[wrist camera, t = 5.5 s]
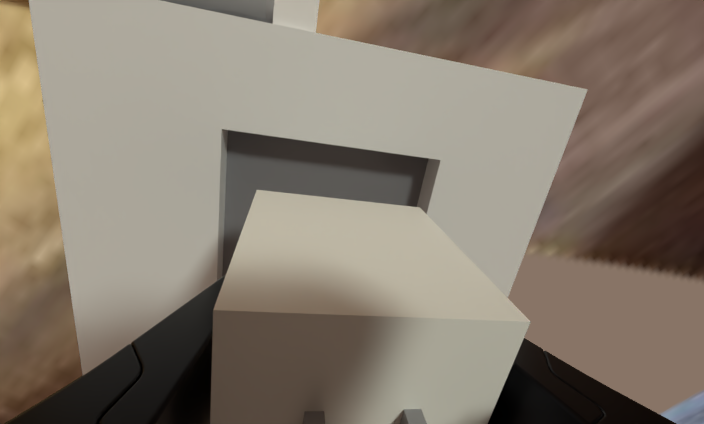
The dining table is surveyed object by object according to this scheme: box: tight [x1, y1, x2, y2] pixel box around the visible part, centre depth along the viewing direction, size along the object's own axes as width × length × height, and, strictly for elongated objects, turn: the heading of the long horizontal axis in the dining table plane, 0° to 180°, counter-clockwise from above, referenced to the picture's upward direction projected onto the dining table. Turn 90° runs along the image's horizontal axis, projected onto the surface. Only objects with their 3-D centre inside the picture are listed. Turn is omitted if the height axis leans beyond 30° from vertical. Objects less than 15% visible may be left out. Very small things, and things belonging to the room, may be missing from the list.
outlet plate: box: [29, 0, 587, 375], centre depth 12 cm, size 16×13×1 cm
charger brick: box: [210, 190, 531, 424], centre depth 7 cm, size 5×5×6 cm
